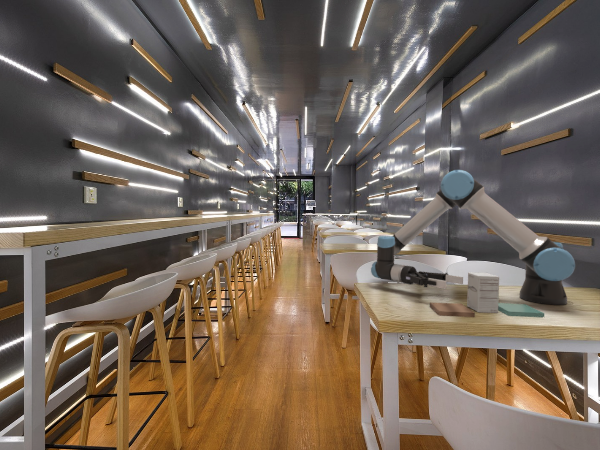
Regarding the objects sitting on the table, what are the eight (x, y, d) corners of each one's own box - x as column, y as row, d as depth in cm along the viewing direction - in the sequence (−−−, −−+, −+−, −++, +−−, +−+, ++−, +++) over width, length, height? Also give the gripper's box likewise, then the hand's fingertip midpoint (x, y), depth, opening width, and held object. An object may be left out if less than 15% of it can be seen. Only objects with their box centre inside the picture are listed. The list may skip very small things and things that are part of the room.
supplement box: (466, 306, 117) (467, 272, 117) (487, 307, 117) (488, 272, 116) (476, 312, 110) (477, 275, 109) (499, 313, 109) (500, 276, 109)
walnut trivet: (461, 309, 115) (461, 303, 115) (474, 318, 104) (474, 312, 104) (429, 307, 116) (429, 302, 116) (439, 317, 105) (439, 311, 105)
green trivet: (524, 309, 116) (524, 304, 116) (544, 319, 105) (544, 313, 105) (492, 308, 117) (492, 302, 117) (508, 317, 106) (508, 311, 106)
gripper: (419, 279, 145) (468, 288, 129) (386, 286, 129) (437, 297, 113) (420, 263, 145) (469, 269, 128) (387, 267, 129) (438, 276, 113)
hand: (454, 282), depth 121 cm, fingers open, 13 cm apart
